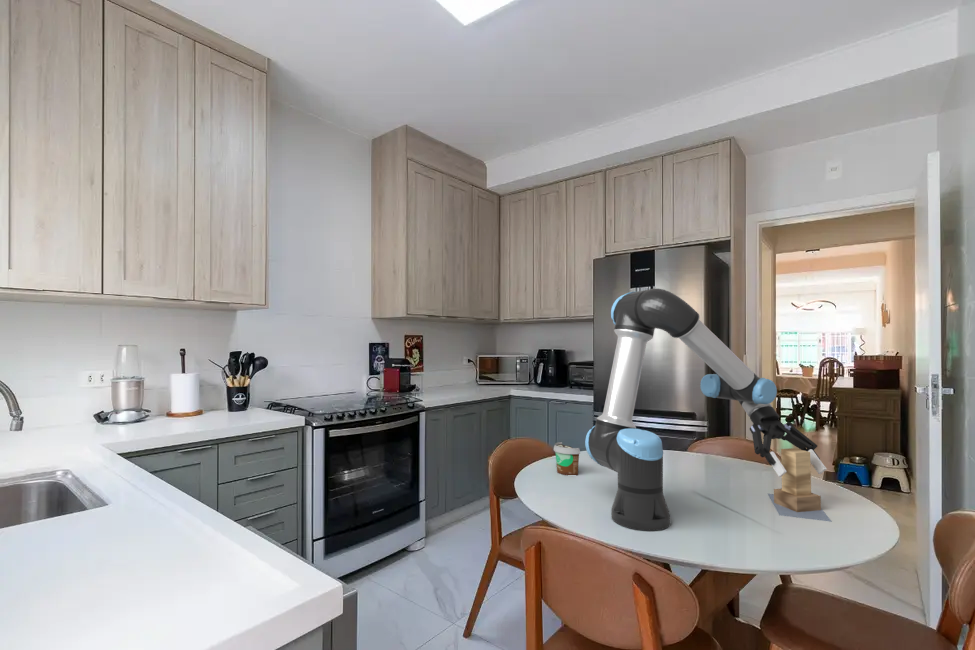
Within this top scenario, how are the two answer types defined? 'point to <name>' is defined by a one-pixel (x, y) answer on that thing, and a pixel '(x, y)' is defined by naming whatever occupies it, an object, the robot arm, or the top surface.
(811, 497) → the base block
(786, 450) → the pillar block
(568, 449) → the food container
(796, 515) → the blueprint mat
